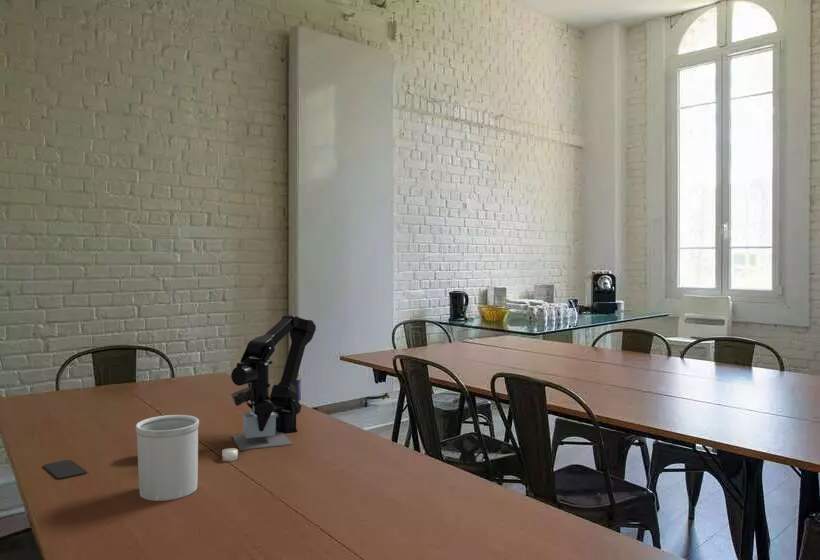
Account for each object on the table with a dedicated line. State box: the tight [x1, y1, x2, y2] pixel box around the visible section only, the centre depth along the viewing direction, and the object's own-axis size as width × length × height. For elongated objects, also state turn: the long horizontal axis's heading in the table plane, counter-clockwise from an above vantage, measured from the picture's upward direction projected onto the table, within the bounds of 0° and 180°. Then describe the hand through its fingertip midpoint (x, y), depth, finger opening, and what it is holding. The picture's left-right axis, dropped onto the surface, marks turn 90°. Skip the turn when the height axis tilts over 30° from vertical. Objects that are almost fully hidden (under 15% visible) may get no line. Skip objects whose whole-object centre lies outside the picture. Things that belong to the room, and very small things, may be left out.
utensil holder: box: [135, 414, 200, 502], centre depth 159 cm, size 15×15×18 cm
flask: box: [295, 373, 302, 402], centre depth 263 cm, size 9×3×11 cm, turn 8°
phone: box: [42, 459, 88, 481], centre depth 174 cm, size 7×1×15 cm
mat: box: [231, 430, 293, 451], centre depth 204 cm, size 16×16×1 cm
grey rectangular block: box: [242, 411, 276, 438], centre depth 202 cm, size 9×6×6 cm
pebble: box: [221, 447, 239, 462], centre depth 185 cm, size 4×4×2 cm
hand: (259, 428), depth 202 cm, fingers closed on grey rectangular block, 6 cm apart
